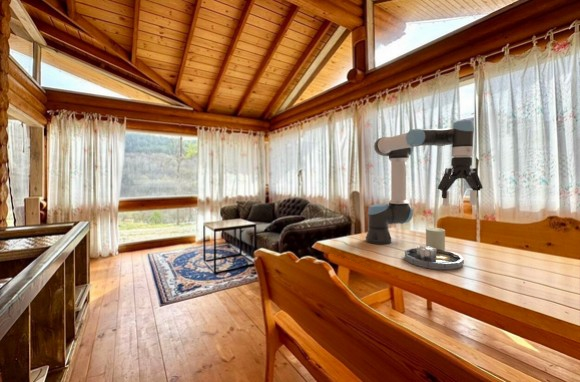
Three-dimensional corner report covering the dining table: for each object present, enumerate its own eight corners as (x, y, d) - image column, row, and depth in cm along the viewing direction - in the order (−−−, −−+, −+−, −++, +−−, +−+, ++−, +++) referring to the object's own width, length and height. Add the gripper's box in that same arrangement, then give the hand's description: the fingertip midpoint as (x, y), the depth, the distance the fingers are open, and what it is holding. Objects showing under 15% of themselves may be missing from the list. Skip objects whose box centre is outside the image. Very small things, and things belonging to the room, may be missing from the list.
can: (444, 254, 133) (444, 231, 133) (424, 251, 139) (424, 229, 138) (446, 249, 141) (446, 227, 140) (427, 247, 146) (427, 226, 146)
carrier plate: (395, 255, 133) (395, 241, 133) (437, 252, 137) (437, 238, 136) (426, 272, 110) (426, 255, 109) (476, 267, 113) (476, 251, 113)
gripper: (442, 156, 107) (440, 207, 108) (494, 156, 111) (491, 205, 112) (430, 157, 114) (428, 204, 116) (479, 157, 118) (476, 203, 120)
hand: (459, 205), depth 114 cm, fingers open, 13 cm apart
